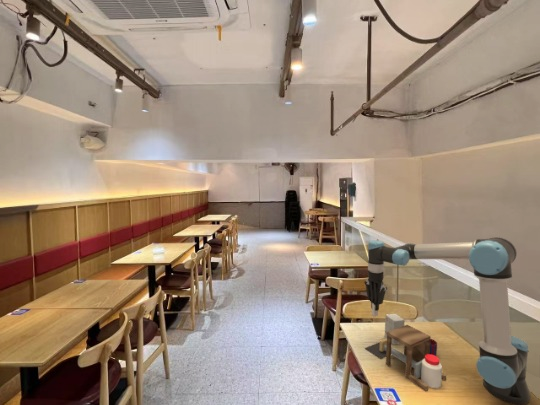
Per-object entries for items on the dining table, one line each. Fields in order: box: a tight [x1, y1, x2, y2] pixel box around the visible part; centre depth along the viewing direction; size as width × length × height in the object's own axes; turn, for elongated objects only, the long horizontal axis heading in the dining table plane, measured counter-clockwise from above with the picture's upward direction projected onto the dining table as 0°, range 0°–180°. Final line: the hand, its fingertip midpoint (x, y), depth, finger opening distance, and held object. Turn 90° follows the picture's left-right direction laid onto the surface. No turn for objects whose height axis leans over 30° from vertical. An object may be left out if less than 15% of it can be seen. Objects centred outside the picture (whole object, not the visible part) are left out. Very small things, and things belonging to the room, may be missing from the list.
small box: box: [384, 313, 406, 345], centre depth 160 cm, size 8×6×13 cm
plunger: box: [379, 337, 422, 379], centre depth 141 cm, size 22×9×6 cm, turn 30°
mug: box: [430, 338, 438, 357], centre depth 148 cm, size 7×10×7 cm
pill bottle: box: [420, 354, 443, 389], centre depth 128 cm, size 8×8×11 cm
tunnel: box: [385, 324, 447, 392], centre depth 134 cm, size 20×14×16 cm
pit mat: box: [364, 341, 386, 360], centre depth 151 cm, size 10×12×1 cm
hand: (374, 315), depth 154 cm, fingers closed
